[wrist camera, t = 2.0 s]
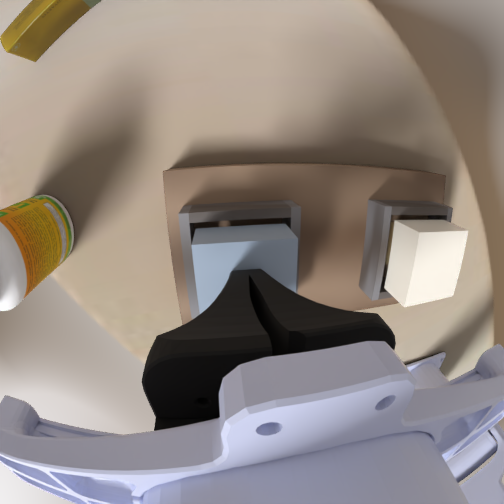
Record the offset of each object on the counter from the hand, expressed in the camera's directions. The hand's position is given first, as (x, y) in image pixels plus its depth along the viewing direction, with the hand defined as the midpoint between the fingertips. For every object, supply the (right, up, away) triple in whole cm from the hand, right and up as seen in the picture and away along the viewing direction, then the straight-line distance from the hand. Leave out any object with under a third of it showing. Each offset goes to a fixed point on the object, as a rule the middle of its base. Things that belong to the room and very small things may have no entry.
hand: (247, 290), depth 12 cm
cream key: (+11, +2, +3) cm, 11 cm away
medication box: (-12, +20, -2) cm, 23 cm away
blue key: (0, +1, +2) cm, 3 cm away
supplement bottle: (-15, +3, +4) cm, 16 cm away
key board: (+5, +3, +7) cm, 9 cm away
